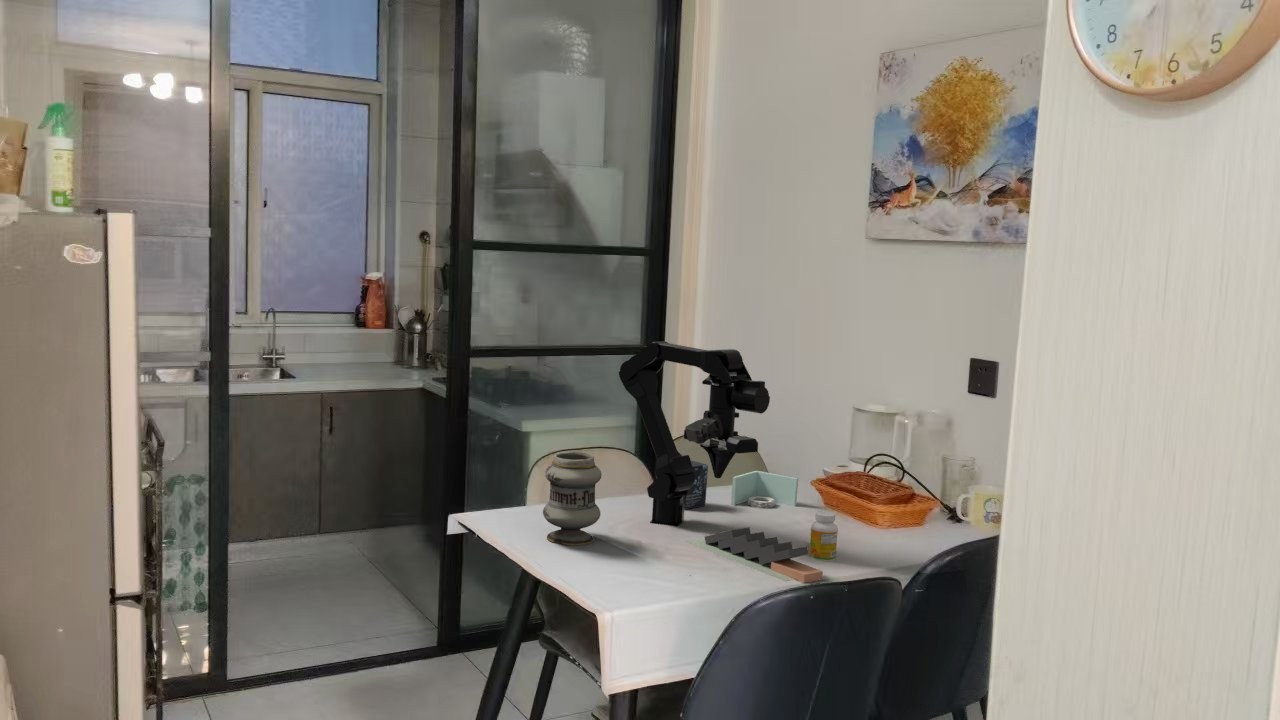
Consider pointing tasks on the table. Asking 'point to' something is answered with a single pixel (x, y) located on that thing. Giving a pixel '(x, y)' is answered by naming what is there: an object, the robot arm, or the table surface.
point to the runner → (739, 558)
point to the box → (697, 487)
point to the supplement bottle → (823, 537)
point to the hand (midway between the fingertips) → (717, 477)
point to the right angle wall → (764, 489)
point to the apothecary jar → (572, 497)
